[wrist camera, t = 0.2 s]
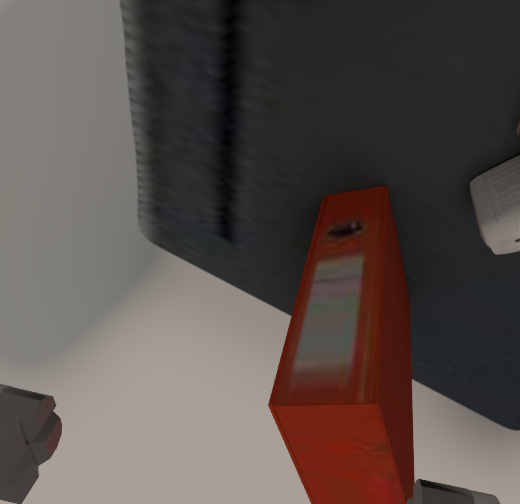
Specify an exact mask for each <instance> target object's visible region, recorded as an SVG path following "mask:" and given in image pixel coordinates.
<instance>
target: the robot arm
mask: <svg viewBox="0 0 520 504" xmlns="http://www.w3.org/2000/svg"><path fill="white" fill-rule="evenodd" d="M55 407H56V404H55V401H54V398H53V396H49V395H44V394H40V393H36V392H31V391H27V390H22V389H18V388H14V387H11V386H7V385H2V384H0V500H4V501H8V502H13V503H17V504H22V502H23V501H24V499H25V497H26V496H27V494H28V493H29V491H30V490H31V488H32V486H33V485H34V483H35V482H36V480H37V479H38V477H39V471H38V466H39V465H40V464H42V463H44V462H45V461H47V460H48V459H50V457H51V456H52V454H53V453H54V451H55V449H56V448H57V446H58V443H59V440H60V437H61V434H62V423H61V420H60V417H58V415H56V413H54V412H53V410H54V408H55ZM407 504H500V502H499V501H498V499H497V498H496V497H495V496H494V495H490V494H485V493H481V492H476V491H472V490H468V489H465V488H460V487H455V486H451V485H445V484H441V483H436V482H431V481H426V480H421V479H418V480H417V481H416V482H415V484H414V487H413V497H412V498H409V499H408V501H407Z"/></svg>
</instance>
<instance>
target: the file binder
mask: <svg viewBox="0 0 520 504" xmlns="http://www.w3.org/2000/svg"><path fill="white" fill-rule="evenodd" d="M268 406H269V408H270V410H271V413H272V415H273V417H274V419H275V422H276V424H277V426H278V429H279V431H280V433H281V436H282V437H283V440H284V442H285V445H286V447H287V449H288V451H289V454H290V456H291V458H292V461H293V463H294V465H295V468H296V470H297V472H298V474H299V477H300V479H301V481H302V484H303V486H304V488H305V490H306V493H307V495H308V497H309V500H310V502H311V504H407V501H408V499H409V498H412V497H413V487H414V450H413V411H412V372H411V335H410V299H409V294H408V289H407V284H406V279H405V273H404V268H403V263H402V258H401V253H400V248H399V243H398V237H397V232H396V227H395V222H394V217H393V212H392V207H391V201H390V196H389V191H388V186H385V187H384V186H379V187H373V188H368V189H362V190H356V191H350V192H345V193H339V194H333V195H327V196H325V197H323V199H322V203H321V207H320V211H319V215H318V218H317V222H316V226H315V230H314V234H313V237H312V241H311V245H310V249H309V253H308V256H307V260H306V264H305V268H304V271H303V275H302V279H301V283H300V287H299V290H298V294H297V298H296V302H295V306H294V309H293V313H292V317H291V321H290V325H289V328H288V332H287V336H286V340H285V344H284V348H283V351H282V355H281V359H280V363H279V366H278V370H277V374H276V378H275V382H274V386H273V389H272V393H271V397H270V401H269V404H268Z"/></svg>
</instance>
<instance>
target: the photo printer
mask: <svg viewBox="0 0 520 504" xmlns="http://www.w3.org/2000/svg"><path fill="white" fill-rule="evenodd" d="M470 193H471V197H472V202H473V206H474V210H475V214H476V218H477V222H478V226H479V230H480V234H481V236H482V238H483V240H484V241H485V243H486V244H487V246H489V247H490V248H491V249H492V251H493V253H494V254H506V253H512V252H516V251H520V155H519V156H517V157H515V158H512V159H510V160H508V161H506V162H504V163H502V164H500V165H498V166H496V167H494V168H492V169H490V170H488V171H487V172H485V173H483V174H481V175H479V176H478V177H476V178H474V179H473V180H472V181H471V182H470Z"/></svg>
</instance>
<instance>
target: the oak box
mask: <svg viewBox="0 0 520 504" xmlns="http://www.w3.org/2000/svg"><path fill="white" fill-rule="evenodd" d="M516 132H517V134H518V136H519V138H520V122H519V124H518V127H517V130H516Z"/></svg>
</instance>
